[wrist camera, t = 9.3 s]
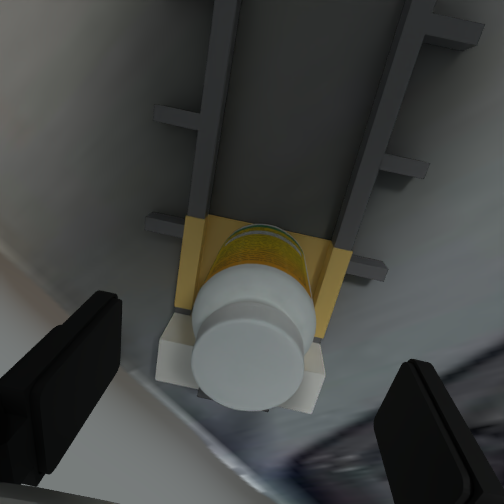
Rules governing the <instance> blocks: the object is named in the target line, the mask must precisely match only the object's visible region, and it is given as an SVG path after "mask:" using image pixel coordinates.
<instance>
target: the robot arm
mask: <svg viewBox="0 0 504 504" xmlns="http://www.w3.org/2000/svg"><path fill="white" fill-rule="evenodd" d="M121 325H122V300H120V299H118V296H117V294H114V293H110V292H105V291H100V290H99V291H97V292H95V293H94V294H93V295H92V296H91V297H90V298H89V299H88V300H87V301H86V302H85V303H84V304H83V305H82V306H81V307H80V308H79V309H78V310H77V311H76V312H75V313H74V314H73V315H71V316H70V317H69V318H68V320H66V321H65V322H64V323H63V324H62V325H58V326H56V327H55V328H53V329H52V330H51V331H50V332H49V333H48V334H47V335H46V336H45V337H44V338H43V339H42V340H41V341H40V342H39V343H37V344H36V345H35V346H34V347H33V348H32V349H31V350H30V351H29V352H28V353H27V354H26V355H25V356H24V357H23V358H22V359H20V360H19V361H18V362H17V363H16V364H15V365H14V366H13V367H12V368H11V369H10V370H9V371H8V372H7V373H6V374H5V375H4V376H2V377H1V378H0V504H118V503H114V502H109V501H104V500H100V499H95V498H90V497H84V496H80V495H74V494H69V493H64V492H59V491H54V490H49V489H44V488H39V487H37V486H38V484H39V483H40V481H41V480H42V478H43V476H44V475H45V474H51V473H52V472H53V471H54V469H55V468H56V467H57V465H58V464H59V462H60V460H61V459H62V457H63V456H64V454H65V453H66V451H67V449H68V448H69V446H70V445H71V443H72V442H73V440H74V438H75V437H76V435H77V434H78V432H79V431H80V429H81V428H82V426H83V424H84V423H85V421H86V420H87V418H88V417H89V415H90V414H91V412H92V410H93V409H94V407H95V406H96V404H97V402H98V401H99V399H100V398H101V396H102V395H103V393H104V392H105V390H106V389H107V387H108V385H109V384H110V382H111V381H112V379H113V378H114V376H115V374H116V373H117V371H118V368H119V365H120V353H121ZM374 431H375V435H376V439H377V442H378V446H379V449H380V453H381V456H382V460H383V464H384V467H385V471H386V474H387V478H388V482H389V485H390V489H391V492H392V496H393V500H394V503H395V504H504V488H503V487H502V485H501V483H500V481H499V480H498V478H497V476H496V475H495V473H494V471H493V469H492V468H491V466H490V464H489V462H488V461H487V459H486V457H485V455H484V454H483V452H482V450H481V449H480V447H479V445H478V443H477V442H476V440H475V438H474V436H473V435H472V433H471V431H470V429H469V428H468V426H467V424H466V423H465V421H464V419H463V417H462V416H461V414H460V412H459V410H458V409H457V407H456V405H455V403H454V402H453V400H452V398H451V397H450V395H449V393H448V391H447V390H446V388H445V386H444V384H443V383H442V381H441V379H440V377H439V376H438V374H437V372H436V371H435V369H434V367H433V366H432V364H431V363H429V362H424V361H420V360H415V359H410V360H408V362H404V363H403V364H402V365H401V367H400V369H399V371H398V373H397V375H396V377H395V379H394V381H393V383H392V385H391V387H390V389H389V391H388V393H387V395H386V397H385V399H384V401H383V402H382V404H381V406H380V408H379V410H378V412H377V414H376V416H375V419H374ZM21 484H27V485H31V486H25V485H21ZM32 486H35V487H32Z"/></svg>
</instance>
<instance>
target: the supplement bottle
mask: <svg viewBox="0 0 504 504" xmlns="http://www.w3.org/2000/svg"><path fill="white" fill-rule="evenodd" d="M192 327H193V332H194V335H195V338H196V340H195V343H194V346H193V349H192V355H191V369H192V373H193V376H194V379H195V381H196V382H197V384H198V386H199V387H200V388H201V390H202V391H203V392H204V393H205V394H206V395H207V396H209V397H210V398H211V399H213V400H214V401H216V402H217V403H219V404H221V405H223V406H226V407H229V408H232V409H235V410H241V411H262V410H267V409H270V408H273V407H276V406H278V405H280V404H282V403H283V402H285V401H287V400H288V399H289V398H290V397H291V396H293V394H294V393H295V392H296V391H297V389H298V388H299V386H300V384H301V381H302V378H303V374H304V356H305V354H306V353H307V351H308V350H309V348H310V346H311V344H312V342H313V339H314V336H315V331H316V314H315V309H314V304H313V299H312V294H311V289H310V283H309V277H308V272H307V267H306V261H305V256H304V253H303V251H302V249H301V247H300V245H299V243H298V242H297V241H296V240H295V239H294V238H293V237H292V236H291V235H290V234H289V233H287V232H286V231H284V230H283V229H281V228H279V227H276V226H273V225H269V224H251V225H247V226H244V227H242V228H240V229H238V230H236V231H235V232H234V233H232V234H231V235H230V236H229V237H228V239H227V240H226V241H225V242H224V244H223V246H222V247H221V249H220V251H219V253H218V255H217V257H216V259H215V261H214V263H213V265H212V267H211V269H210V271H209V273H208V275H207V277H206V279H205V281H204V283H203V285H202V286H201V288H200V290H199V292H198V295H197V297H196V300H195V303H194V306H193V311H192Z"/></svg>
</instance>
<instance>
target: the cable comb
mask: <svg viewBox="0 0 504 504" xmlns="http://www.w3.org/2000/svg"><path fill="white" fill-rule="evenodd" d="M241 1H242V0H215V2H214V10H213V17H212V25H211V33H210V41H209V48H208V56H207V64H206V72H205V80H204V87H203V95H202V103H201V111H200V113H196V112H191V111H186V110H182V109H177V108H172V107H168V106H163V105H157V104H154V116H153V121H156V122H161V123H166V124H170V125H175V126H180V127H184V128H189V129H193V130H198V134H197V142H196V150H195V157H194V165H193V173H192V181H191V189H190V196H189V204H188V212H187V215H186V217H185V219H184V218H179V217H175V216H170V215H166V214H161V213H156V212H152V213H151V214H149V215H148V216H146V217H145V230H147V231H151V232H156V233H160V234H165V235H170V236H174V237H179V238H183V241H182V249H181V257H180V265H179V272H178V280H177V288H176V296H175V304H174V306H175V313H174V314H173V316H172V318H171V320H170V321H169V323H168V325H167V327H166V329H165V330H164V332H163V334H162V336H161V337H160V340H159V349H158V357H157V366H156V375H155V380H157V381H161V382H166V383H171V384H175V385H180V386H185V387H189V388H194V389H198V395H197V397H200V398H205V399H210V400H213V399H211V398H210V397H209V396H207V395H206V394H205V393H204V392H203V391H202V390H201V388H200V387H199V386H198V384H197V382H196V381H195V379H194V376H193V373H192V369H191V355H192V349H193V346H194V343H195V340H196V338H195V335H194V332H193V327H192V311H193V306H194V303H195V300H196V297H197V295H198V292H199V290H200V288H201V286H202V285H203V283H204V281H205V279H206V277H207V275H208V273H209V271H210V269H211V267H212V265H213V263H214V261H215V259H216V257H217V255H218V253H219V251H220V249H221V247H222V246H223V244H224V242H225V241H226V240H227V239H228V237H229V236H230V235H231V234H232V233H234V232H235V231H236V230H238V229H240V228H242V227H244V226H247V225H251V224H252V223H248V222H243V221H238V220H234V219H229V218H225V217H220V216H215V215H211V214H209V208H210V202H211V195H212V189H213V182H214V176H215V169H216V163H217V156H218V150H219V143H220V137H221V130H222V124H223V117H224V111H225V104H226V98H227V91H228V85H229V78H230V72H231V66H232V59H233V53H234V46H235V40H236V33H237V27H238V20H239V14H240V7H241ZM436 1H437V0H405V3H404V7H403V10H402V13H401V16H400V19H399V23H398V26H397V29H396V32H395V36H394V39H393V42H392V45H391V49H390V52H389V55H388V58H387V61H386V65H385V68H384V71H383V74H382V78H381V81H380V84H379V87H378V91H377V94H376V97H375V100H374V103H373V107H372V110H371V113H370V116H369V120H368V123H367V126H366V129H365V132H364V136H363V139H362V142H361V145H360V149H359V152H358V155H357V158H356V162H355V165H354V168H353V171H352V174H351V178H350V181H349V184H348V187H347V191H346V194H345V197H344V200H343V204H342V207H341V210H340V213H339V216H338V220H337V223H336V226H335V229H334V233H333V236H332V239H331V240H327V239H322V238H317V237H313V236H308V235H303V234H299V233H294V232H289V231H286V232H287V233H289V234H290V235H291V236H292V237H293V238H294V239H295V240H296V241H297V242H298V243H299V245H300V247H301V249H302V251H303V253H304V256H305V261H306V267H307V272H308V277H309V283H310V289H311V294H312V299H313V304H314V309H315V314H316V331H315V336H314V339H313V342H312V344H311V346H310V348H309V350H308V351H307V353H306V354H305V356H304V374H303V378H302V381H301V384H300V386H299V388H298V389H297V391H296V392H295V393H294V394H293V396H291V397H290V398H289V399H288V400H287V401H285V402H283V403H282V404H280V405H278V406H277V407H282V408H286V409H291V410H295V411H300V412H305V413H309V414H312V412H313V409H314V406H315V404H316V401H317V398H318V395H319V393H320V390H321V387H322V384H323V382H324V379H325V376H326V373H325V368H324V362H323V357H322V351H321V346H320V343H321V340H322V338H324V335H325V332H326V329H327V326H328V323H329V320H330V317H331V314H332V311H333V308H334V305H335V303H336V300H337V297H338V294H339V291H340V288H341V285H342V282H343V279H344V276H345V273H346V274H350V275H355V276H360V277H364V278H369V279H374V280H378V281H383V282H384V280H385V277H386V274H387V272H388V268H387V267H386V265H385V264H384V263H383V261H379V260H374V259H369V258H365V257H360V256H356V255H352V253H353V252H352V248H353V245H354V242H355V239H356V236H357V234H358V231H359V228H360V225H361V222H362V219H363V216H364V213H365V210H366V207H367V204H368V201H369V198H370V195H371V192H372V189H373V186H374V183H375V180H376V178H377V175H378V172H379V170H384V171H388V172H393V173H398V174H402V175H407V176H412V177H416V178H421V179H424V178H425V176H426V173H427V171H428V168H429V165H430V163H427V162H423V161H418V160H414V159H409V158H404V157H400V156H395V155H390V154H386V153H385V151H386V148H387V145H388V142H389V139H390V136H391V133H392V130H393V127H394V124H395V122H396V119H397V116H398V113H399V110H400V107H401V104H402V101H403V98H404V95H405V92H406V89H407V86H408V83H409V80H410V77H411V74H412V71H413V68H414V65H415V63H416V60H417V57H418V54H419V51H420V48H421V45H422V42H423V43H428V44H432V45H437V46H441V47H446V48H451V49H455V50H460V51H464V50H467V49H469V48H472V47H474V46H476V45H477V44H478V41H479V39H480V36H481V34H482V31H483V28H484V26H485V24H481V23H477V22H472V21H467V20H463V19H458V18H453V17H449V16H444V15H439V14H435V13H432V12H433V9H434V7H435V4H436ZM284 231H285V230H284ZM262 411H265V412H268V411H269V409H267V410H262Z"/></svg>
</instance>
